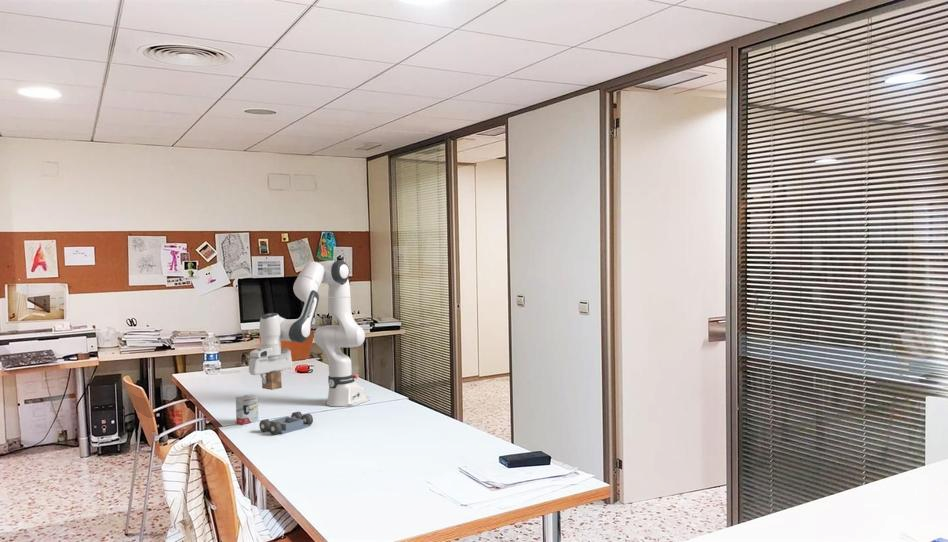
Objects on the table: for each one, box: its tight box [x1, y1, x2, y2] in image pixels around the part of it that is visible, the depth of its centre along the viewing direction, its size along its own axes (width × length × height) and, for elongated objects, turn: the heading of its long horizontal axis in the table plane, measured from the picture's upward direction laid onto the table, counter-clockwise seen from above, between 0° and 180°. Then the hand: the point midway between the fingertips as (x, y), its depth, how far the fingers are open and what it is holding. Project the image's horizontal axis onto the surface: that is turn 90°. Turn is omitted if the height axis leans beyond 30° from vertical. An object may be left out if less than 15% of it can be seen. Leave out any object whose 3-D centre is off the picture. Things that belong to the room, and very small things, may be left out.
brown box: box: [261, 370, 282, 391], centre depth 296 cm, size 5×7×8 cm
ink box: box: [235, 393, 259, 426], centre depth 303 cm, size 9×5×12 cm, turn 143°
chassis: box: [259, 410, 314, 436], centre depth 291 cm, size 19×12×5 cm, turn 143°
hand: (271, 382), depth 296 cm, fingers closed on brown box, 5 cm apart
